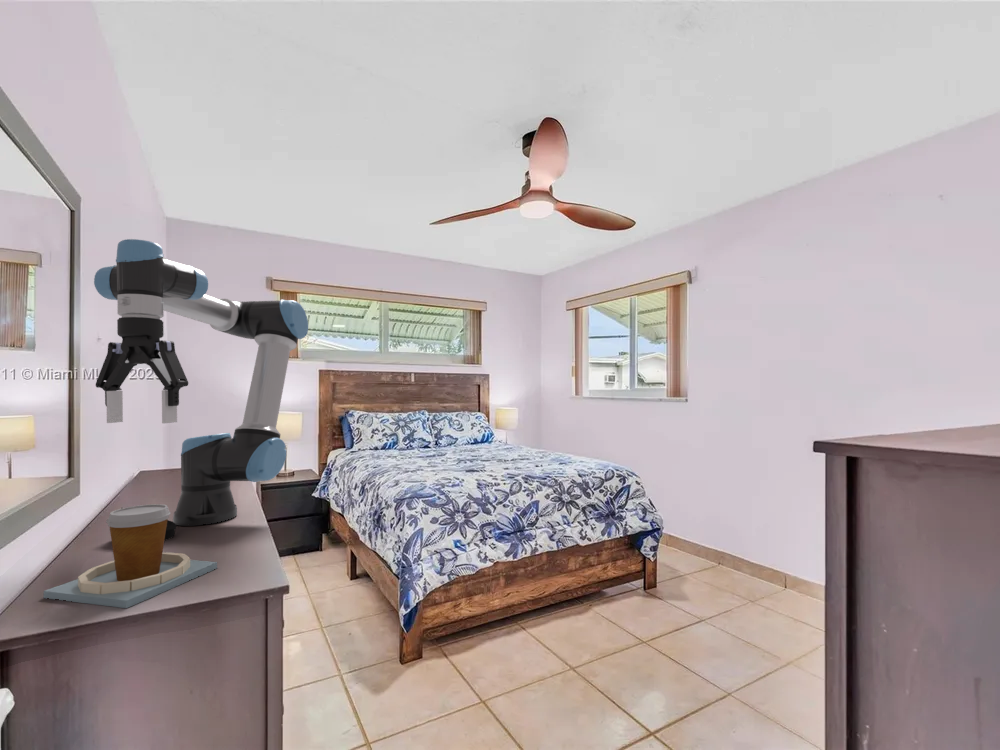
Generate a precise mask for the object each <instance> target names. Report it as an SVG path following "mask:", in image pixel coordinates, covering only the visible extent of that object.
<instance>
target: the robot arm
mask: <svg viewBox="0 0 1000 750" xmlns="http://www.w3.org/2000/svg"><path fill="white" fill-rule="evenodd" d="M163 252H164V251H163V247H162V246H161V245H160V244H158V243H156V242H154V241H150V240H144V239H135V238H134V239H133V238H129V239H128V238H127V239H122V240H121V241H119V242H118V243H117V250H116V259H115V262H116V265H113V266H105V267H101V268H100V269H98V270H97V271H96V272H95V275H94V278H93V280H94V281H93V285H94V287H95V290H96V292H97V293H98V294H99V295H100V296H101V297H103V298H105V299H106V300H114V301H117V315H118V316H120V317H119V318H118V319H117V320H116V321H117V327H116V328H117V330H116V332H117V336H119V337H121V338H122V341H121V342H111V341H110V342H108V344H107V353H106V355H105V359H104V361H103V363H102V366H101V369H100V371H99V374H98V377H97V379H96V382H95V387H96V388H100V389H102V390H103V391H104V401H105V402H104V404H105V407H106V423H107V424H112V423H113V424H115V423H124V416H123V412H124V411H123V410H124V409H123V399H124V397H123V396H124V395H123V390H122V388H121V387H122V385H123V383H124V382H125V380H126V379H127V378H128V376H129V375H130V373H131V371H132V369H134V367H136V366H137V365H144V364H145V365H147V366H149V368H150V369H151V370H152V372H153V373H154V374H155V376H156V377H157V378H158V380H159V382H160V383H161V384H162V385H163V388H162V389H161V423H162V424H173V423H178V406H179V404H180V390H181V388H184V387H187V386H189V380H188V378H187V376H186V374H185V372H184V369H183V367H182V364H181V362H180V360H179V358H178V355H177V353H176V350H175V349H176V348H175V342H174V341H173V340H160V339H162V338H163V337H164V335H165V333H164V321H163V320H162V319H163V317H164V316H165V315H164V312H167V313H170V314H174V315H177V316H180V317H183V318H187V319H190V320H194V321H197V322H201V323H204V324H208V325H209V326H210V327H211V328H212V329H214V330H216V331H218V332H222V333H225V334H228V335H231V336H234V337H239V338H244V339H249V340H254V341H255V343H256V344H257V345H258V348H257V353H256V359H255V360H254V361H255V362H254V367H253V370H252V371H253V372H252V375H251V376H252V377H251V381H250V386H249V390H248V391H249V392H248V396H247V401H246V405H245V409H244V414H243V420H242V424H240V425H239V426H237V427H236V428H235V429H234V432H233V437H232V436H231V435H232V434H231V433H230V432H226V433H224V432H223V433H215V434H209V435H208V434H207V435H201V436H195V437H189V438H186V439H184V441H183V442H182V445H181V453H180V466H181V467H180V483H181V484H180V486H181V487H180V489H181V490H180V496H179V499H178V502H177V506H176V509H175V511H174V512H173V514H172V522H174V523H175V524H176V526H180V527H181V526H184V527H185V526H187V527H189V526H192V527H193V526H195V527H196V526H204V525H203V524H206V525H210V524H211V523H212V524H216V523H217V522H218V523H221V521H222V522H226V521H229V520H232V519H234V518H236V517H237V516H238V506H237V505H236V504H235V503H236V502H235V499H234V497H233V493H232V490H231V482H252V483H257V482H267V481H270V480H273V479H275V477H277V475H278V474H279V473H280V472H281V471H282V470H283V467H284V465H285V463H286V462H285V461H286V459H287V449H286V448H287V447H286V443H285V441H284V440H283V439H281V433H280V432H279V430H278V429H277V424H278V419H279V413H280V408H281V402H282V395H283V391H284V386H285V381H286V374H287V370H288V365H289V359H290V355H291V354H290V353H291V351H293V350H295V349H296V348H297V345H298V341H299V340H302V339H304V338H305V337H307V335H308V333H309V321H308V316H307V313H306V311H305V309H304V307H303V306H302V305H301V303H300V302H298V301H296V300H292V299H290V300H289V299H287V300H286V299H280V300H258V301H256V300H255V301H254V300H250V301H249V300H248V301H247V300H246V301H236V300H235V301H234V300H230V299H228V298H221V299H218V298H216V297H214V296H210V295H208V294H206V293H208V292H207V291H208V290H209V278H208V277H207V275H206V274H205V272H204V271H203V270H201V269H198V268H195V267H194V266H192V265H187V264H184V263H180V262H177V261H173V260H171V259H170V260H169V259H167V258H165V257H164V255H165V254H164V253H163ZM161 318H162V319H161ZM236 515H237V516H236ZM235 516H236V517H235ZM233 517H234V518H233ZM231 518H232V519H231ZM228 519H229V520H228ZM225 520H226V521H225ZM218 523H217V524H218Z"/></svg>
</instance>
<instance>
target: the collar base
mask: <svg viewBox="0 0 1000 750" xmlns="http://www.w3.org/2000/svg"><path fill="white" fill-rule="evenodd" d="M214 569H215V570H217V569H218V561H208V560H197V559H196V560H195V559H191V558H190V557H189V556H188V555H187V554H185V553H180V552H178V553H177V552H166V551H165V552H162V559H161V565H160V572H159V573H158V574H156V575H151V576H147V577H143V578H138V579H134V580H128V581H118V580H117V576H116V569H115V562H114V560H111V561H108V562H105V563H102V564H100V565H97V566H93V567H92V568H89V569H87V570H86V571H84V572H83V573H81V574H80V575H78V576H77V578H76V579H73V580H70V581H68V582H65V583H62V584H60V585H57V586H54V587H51V588H48V589H45V590H43V596H42V597H43V599H47V598H49V599H48V600H55V599H59V600H58V601H63V600H66V601H65V602H71V601H72V602H73V603H80V604H81V603H82V604H89V605H96V606H105V607H114V608H122V609H128V608H130V607H132V606H135V605H137V604H140V603H142V602H144V601H146V600H148V599H151V598H153V597H156V596H157V595H160V594H162V593H165V592H167V591H169V590H171V589H173V588H176V587H179V586H180V585H182V584H185V583H187V582H190V581H191V579H192V580H193V579H196V578H199V577H201V576H203V575H205V574H208V573H210V572H212V571H215V570H214ZM207 572H208V573H207ZM198 576H199V577H198ZM189 580H190V581H189Z"/></svg>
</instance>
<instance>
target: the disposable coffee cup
mask: <svg viewBox="0 0 1000 750" xmlns="http://www.w3.org/2000/svg"><path fill="white" fill-rule="evenodd" d="M121 508H122V509H121ZM121 508H118V509H115V510H113V511H112V510H111V511H110V512H109V516H108V518H107V519H106V521H105V522H106V524H107V526H108V527H109V531H110V532H109V533H110V539H111V547H112V555H113V561H114V562H115V569H116V576H117V580H118V581H128V580H134V579H138V578H143V577H147V576H151V575H156V574H158V573H159V572H160V565H161V559H162V553H164V543H165V540H164V539H165V533H166V527H167V520H169V518H170V515H171V512H172V511H170V509H169V507H168V505H167V504H160V503H159V504H158V503H156V504H155V503H153V504H151V503H150V504H141V505H133V506H127V507H121Z"/></svg>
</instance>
